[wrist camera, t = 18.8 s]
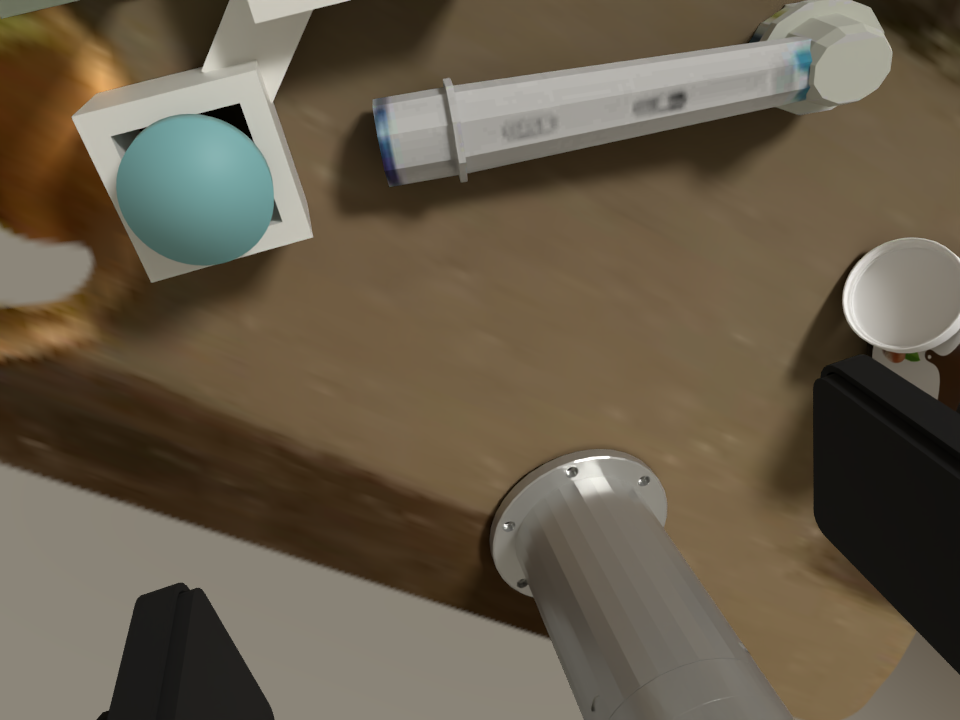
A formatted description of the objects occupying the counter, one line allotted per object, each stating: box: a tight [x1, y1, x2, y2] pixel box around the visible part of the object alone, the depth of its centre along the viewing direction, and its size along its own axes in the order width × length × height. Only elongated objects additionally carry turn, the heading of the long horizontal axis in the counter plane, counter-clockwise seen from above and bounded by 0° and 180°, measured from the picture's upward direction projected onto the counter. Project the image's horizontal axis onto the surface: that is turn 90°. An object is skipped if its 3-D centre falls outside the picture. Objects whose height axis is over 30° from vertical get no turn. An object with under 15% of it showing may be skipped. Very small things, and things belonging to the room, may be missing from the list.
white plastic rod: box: [373, 0, 893, 187], centre depth 36 cm, size 5×7×25 cm
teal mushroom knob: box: [116, 114, 274, 266], centre depth 31 cm, size 6×6×6 cm
